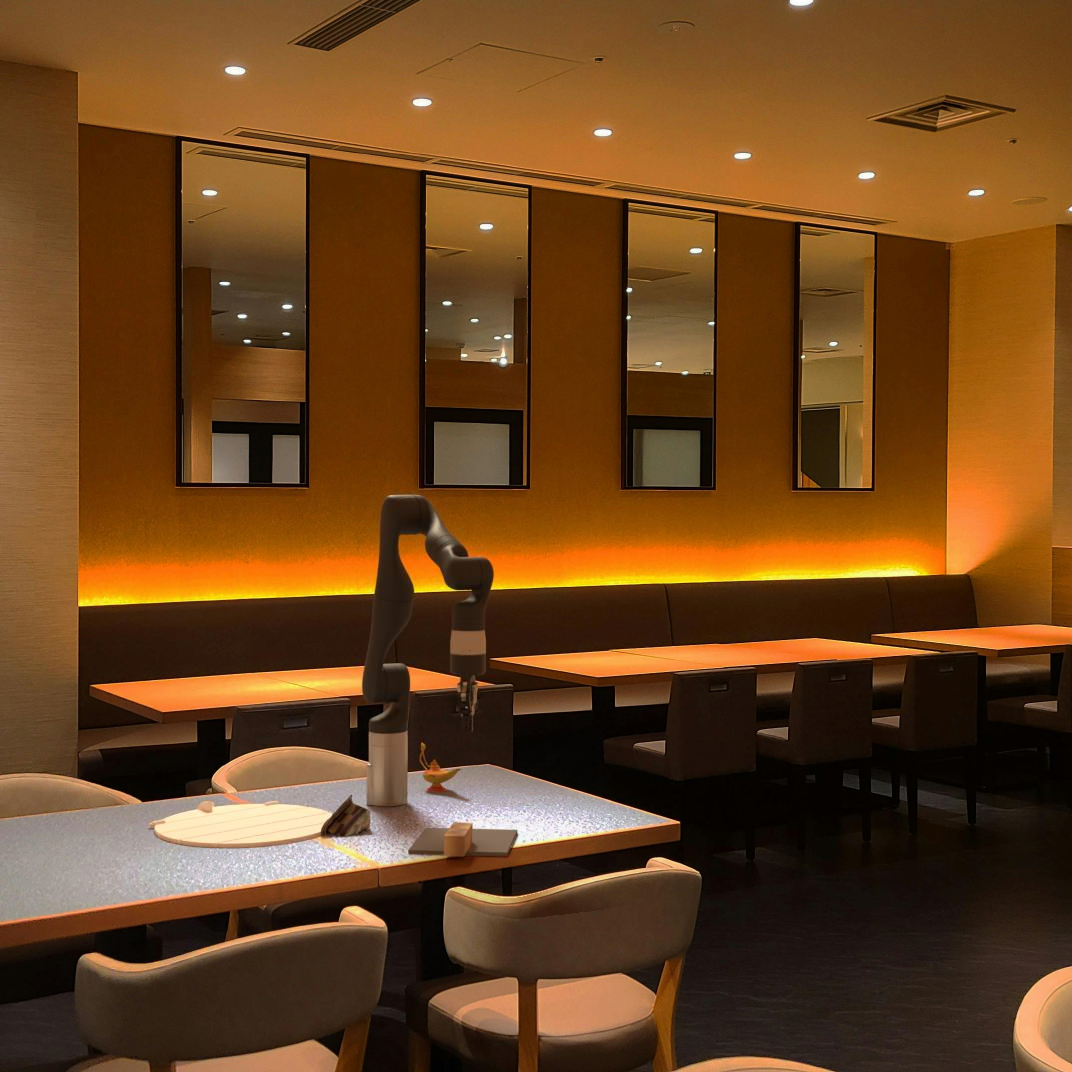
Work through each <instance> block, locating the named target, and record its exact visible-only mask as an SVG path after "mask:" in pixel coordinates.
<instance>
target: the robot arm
mask: <svg viewBox="0 0 1072 1072" xmlns="http://www.w3.org/2000/svg"><path fill="white" fill-rule="evenodd" d="M403 535H404V536H410V535H412V536H415V535H424V536H425V541H424V548H425V553H426V554H427V556H428V558H429V559H430V560H431V561H432V562H433V563H434V564H435V565H436V566H437V567H438V568H439V570H440V572H441V574H442V575H441V576H442V577H443V581H444V584H445V585H446V586H447V587H448V588H450V589H452V591H453V590H454V591H470V593H469V596H468V597H467V598H466V599H465V600H461V601H458V602H455V603H454V604H453V605H452V607H451V633H450V635H451V636H450V641H449V643H450V646H449V648H450V649H449V650H450V651H449V654H450V656H449V666H450V667H449V671H450V673H451V674H452V675H458V676H460V678H459V682H457V684H456V685H457V686H456V687H457V688H456V691H457V693H456V697H457V703H458V713H459V714H460V716H461V734H466V735H467V734H468V735H469V734H471V733H473V732H474V731H473V730H474V714H475V711H476V703H477V698H478V697H477V694H478V689H479V681H476V676H480V675H484V674H485V673H486V671H487V670H486V664H487V663H486V659H487V658H486V656H487V655H486V653H487V650H486V649H487V647H486V646H487V639H486V625H485V624H486V609H487V605H488V600H489V596H490V593H491V590H492V586H493V583H494V577H495V571H494V567H493V564H492V562H491V561H490V560H489V559H488V558H486V557H483V556H469V552H468V550H467V548H466V546H464V545H463V543H461V542H460V541H459V540H458V539H457V538H456V537H455V536H454V535H452V533H450V531H449V530H448V528H447V527H446V525H445V524H444V522H443V521H442V519H441V517H440V515H439V514H438V512H437V511H436V509H435V507H434V506H433V504H432V503H431V502H430V501H429V499H428V498H426V497H425V496H423V495H419V494H392V495H391V494H390V495H387V496H386V497H385V498H384V500H383V502H382V504H381V509H380V519H379V547H378V548H379V549H378V552H379V553H378V564H377V572H376V579H375V588H374V594H373V603H372V615H371V616H372V617H371V623H370V624H371V625H370V627H371V628H370V635H369V642H368V647H367V651H366V657H365V661H364V665H363V667H364V668H363V672H362V679H361V690H362V691H361V692H362V697H363V698H364V701H366V702H367V703H369V704H384V703H385V704H387V703H389V707H388V708H386V710H385V711H383V712H382V713H380V714H378V715H376V716H374V717H371V718H370V719H369V722H368V763H367V764H366V805H370V806H371V805H372V806H376V807H398V806H402V805H406V804H407V803H408V763H409V762H408V756H409V755H408V748H409V747H408V732H409V731H408V729H409V728H408V724H409V717H410V696H411V676H410V670H409V668H408V667H407V665H406V664H404V663H399V662H398V663H397V662H396V663H395V662H394V663H385V658H386V657H387V656H386V655H387V653H388V652H389V649H390V647H391V645H392V644H393V643H394V641H395V640H396V639H397V638H398V636H399V635H400V634H401V633H402V632H403V630H404V629H405V627H406V626H407V625H408V623H409V621H410V619H411V617H412V614H413V613H412V612H413V606H414V597H415V587H414V582H413V581H412V579H411V577H410V575H409V573H408V571H407V570H406V567H405V566H404V564H403V561H402V559H401V557H400V556H401V555H400V549H399V540H400V536H403Z"/></svg>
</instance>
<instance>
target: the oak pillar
mask: <svg viewBox="0 0 1072 1072" xmlns="http://www.w3.org/2000/svg"><path fill="white" fill-rule="evenodd" d="M448 828H449V829H448V831H447V832H446V834H445V835H444V855H443V856H444V857H462V858H463V857H465V856H466V855H465V854H466V852H467V851H468V849H469V847H470V846H471V844H472V842H473V829H474V828H473V822H458V821H457V822H454V821H453V822H452V824H451V825H450V826H449V827H448Z"/></svg>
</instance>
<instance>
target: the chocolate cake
mask: <svg viewBox="0 0 1072 1072" xmlns="http://www.w3.org/2000/svg"><path fill="white" fill-rule="evenodd" d="M371 822H372V821H371V811H370V810H369V809H368V808H366V807H363V806H361V805H358V804H356V803H354V802H353V794H351V795H349V796H348V797H347V798H346V799H345V800H344V801H343V802H342V803H341V804H340V806H339V807H338V808H337V809H336V811H334V812H333V813H332V815H331V817H330V818H329V819H327V821H326V822H325V823H324V825H323V826H322V828H321V835H320V836H328V835H330V834H333V835H337V836H339V837H342V838H346V837H348V836H351V835H362V831H367V832H368V831H370V828H371Z"/></svg>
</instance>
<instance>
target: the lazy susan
mask: <svg viewBox="0 0 1072 1072" xmlns="http://www.w3.org/2000/svg"><path fill="white" fill-rule="evenodd" d="M332 814H333V813H332V812H329V811H327V810H324V809H320V808H317V807H312V806H310V807H309V806H304V805H296V804H282V803H281V804H280V801H276V800H272V801H266V802H264V803H247V804H246V803H243V804H229V805H228V804H227V805H220V806H218V805H217V806H215V803H214V802H213V801H211V800H209V801H208V800H207V801H201V802H200V803H199V804H198V805H197V808H196V809H191V810H188V811H183V812H180V813H176V814H173V815H170V816H167V817H165V818H163V819H160V820H159V819H158V820H154V821H153V820H152V821H151V822H150V823H148V825H147V826H148V828H152V827H153V828H154V834H155V836H157V837H158V838H159V839H161V840H164V841H167V842H169V843H174V844H180V845H184V846H190V847H200V848H204V847H205V848H224V849H225V848H229V849H230V848H232V849H233V848H234V849H235V848H236V849H237V848H256V847H267V846H268V847H270V846H277V845H284V844H291V842H292V843H297V842H302V841H306V839H307V840H310V839H313V838H317V837H320V836H322V835H321V828H322V826H323V825H324V823H325V822H326V821H327V819H329V818H330V817H331V815H332Z"/></svg>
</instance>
